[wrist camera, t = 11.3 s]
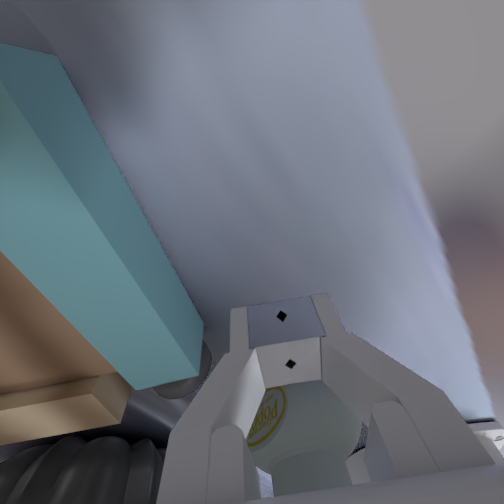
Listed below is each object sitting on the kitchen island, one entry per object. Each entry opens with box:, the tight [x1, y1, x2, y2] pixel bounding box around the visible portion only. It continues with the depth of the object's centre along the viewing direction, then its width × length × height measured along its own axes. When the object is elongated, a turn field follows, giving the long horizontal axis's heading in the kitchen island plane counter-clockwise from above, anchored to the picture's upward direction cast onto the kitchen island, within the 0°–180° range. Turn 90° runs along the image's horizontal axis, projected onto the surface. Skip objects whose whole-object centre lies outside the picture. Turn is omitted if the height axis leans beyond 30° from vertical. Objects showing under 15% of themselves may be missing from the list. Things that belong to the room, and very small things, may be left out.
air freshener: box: [246, 380, 362, 497], centre depth 21 cm, size 11×8×10 cm
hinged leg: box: [0, 43, 212, 399], centre depth 13 cm, size 18×4×5 cm, turn 15°
